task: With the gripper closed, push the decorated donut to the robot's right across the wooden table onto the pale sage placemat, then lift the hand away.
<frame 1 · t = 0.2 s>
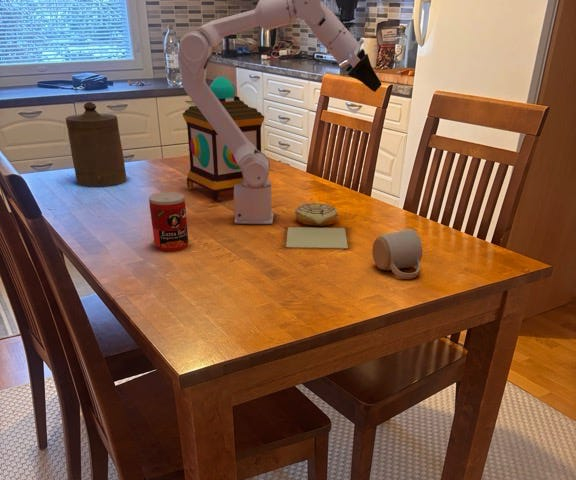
hand: (376, 85, 132), 31 cm above the table, tool tilted 45°, fingers open, 7 cm apart
canned food: (172, 246, 132), on the table
decorative lantern: (226, 192, 171), on the table
wooden container: (102, 181, 180), on the table
decorated donut: (316, 222, 147), on the table, touching placemat
placemat: (316, 237, 137), on the table
ceramic mug: (398, 270, 121), on the table
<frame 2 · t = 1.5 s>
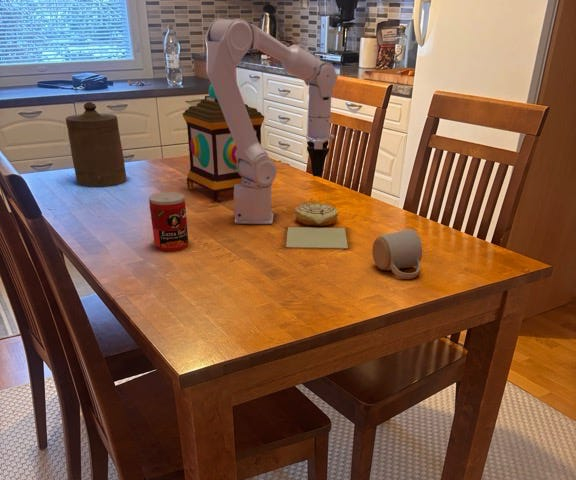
hand: (317, 173, 151), 9 cm above the table, tool pointing down, fingers open, 6 cm apart
nothing on the table moved.
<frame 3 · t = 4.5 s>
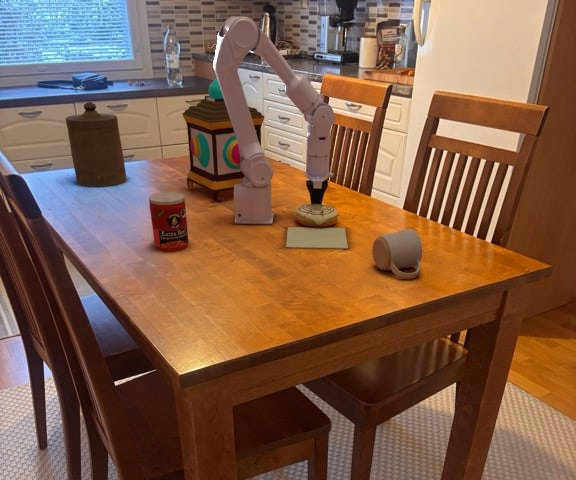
hand: (316, 209, 151), 1 cm above the table, tool pointing down, fingers closed
decorated donut: (316, 223, 147), on the table, touching gripper
everything else where it was.
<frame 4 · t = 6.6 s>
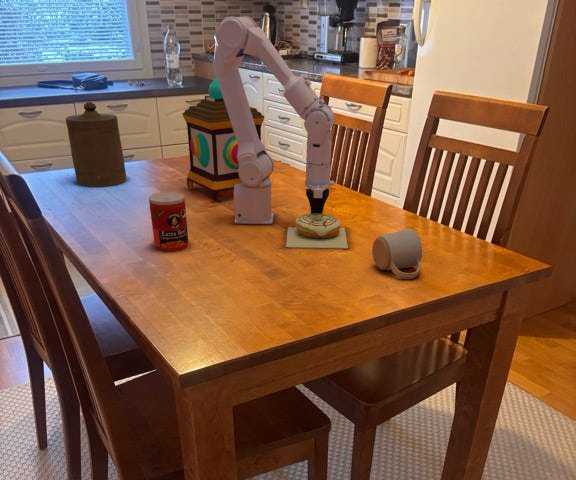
hand: (316, 219, 144), 1 cm above the table, tool pointing down, fingers closed
decorated donut: (317, 234, 140), resting on placemat, touching gripper
everything else where it was.
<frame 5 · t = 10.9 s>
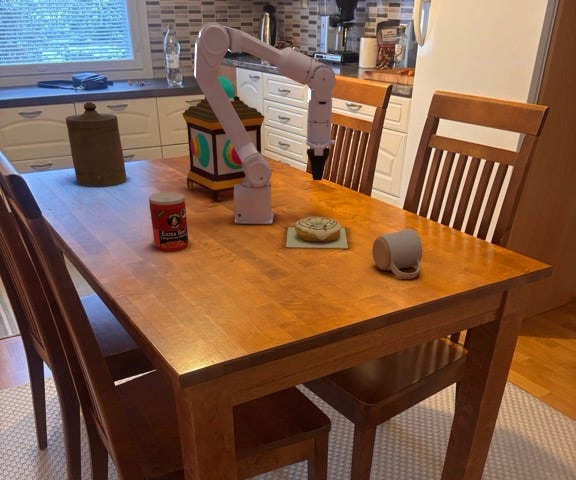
hand: (317, 179, 145), 9 cm above the table, tool pointing down, fingers closed
decorated donut: (317, 237, 137), resting on placemat
everything else where it was.
at the end: decorated donut inside the target area on the placemat (0.3 cm from its centre), point 0.0 cm above the placemat's base; decorated donut moved 11.9 cm from its start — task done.
